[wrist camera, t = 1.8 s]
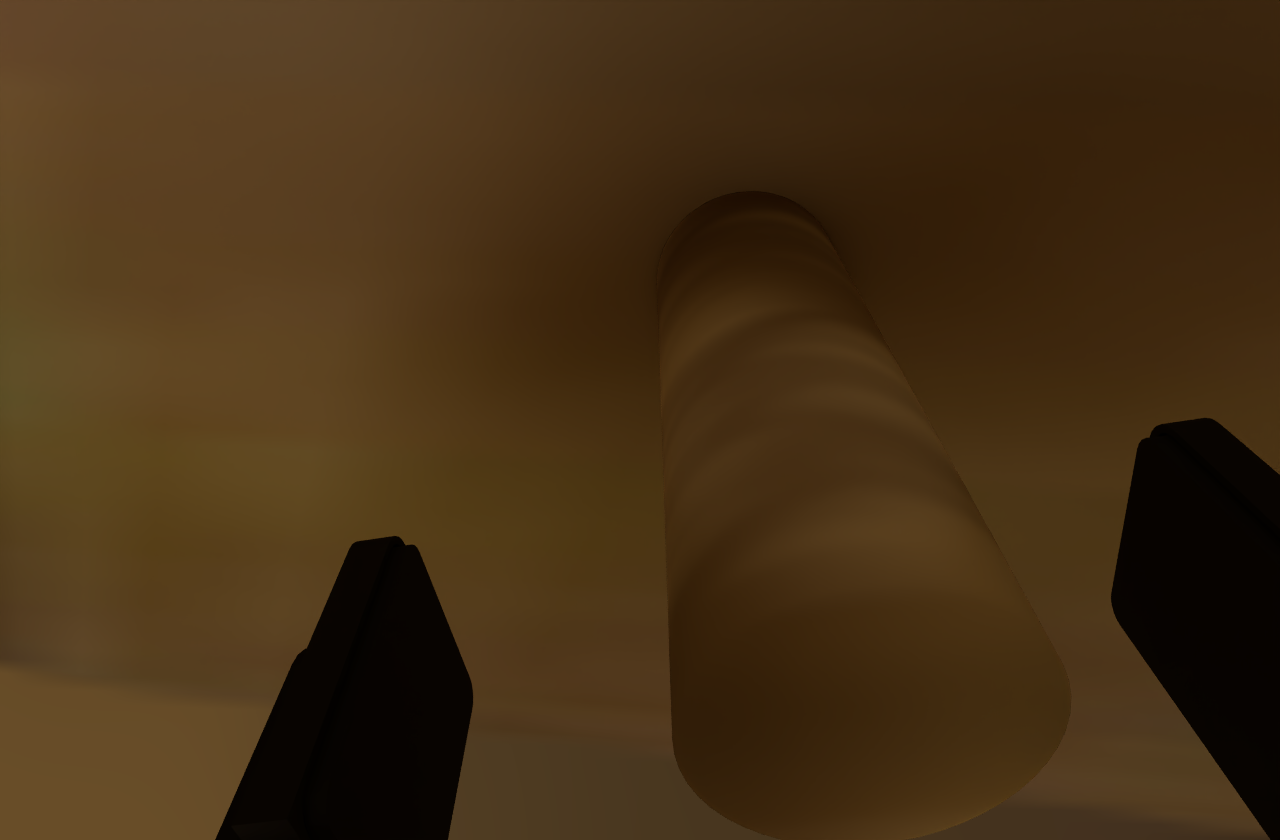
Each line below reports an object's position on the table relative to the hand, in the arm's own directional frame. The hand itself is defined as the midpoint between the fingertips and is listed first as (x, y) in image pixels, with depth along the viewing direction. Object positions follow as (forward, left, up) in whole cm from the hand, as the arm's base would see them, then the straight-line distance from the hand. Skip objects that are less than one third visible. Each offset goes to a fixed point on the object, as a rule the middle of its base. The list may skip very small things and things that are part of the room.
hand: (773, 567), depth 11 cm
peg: (-1, 0, -9) cm, 9 cm away
